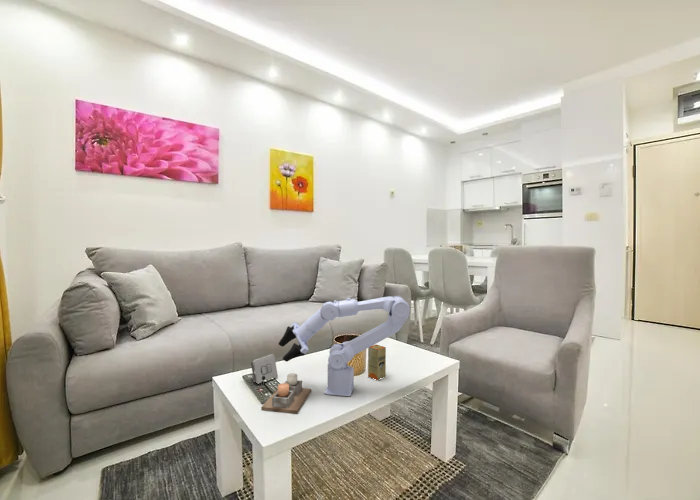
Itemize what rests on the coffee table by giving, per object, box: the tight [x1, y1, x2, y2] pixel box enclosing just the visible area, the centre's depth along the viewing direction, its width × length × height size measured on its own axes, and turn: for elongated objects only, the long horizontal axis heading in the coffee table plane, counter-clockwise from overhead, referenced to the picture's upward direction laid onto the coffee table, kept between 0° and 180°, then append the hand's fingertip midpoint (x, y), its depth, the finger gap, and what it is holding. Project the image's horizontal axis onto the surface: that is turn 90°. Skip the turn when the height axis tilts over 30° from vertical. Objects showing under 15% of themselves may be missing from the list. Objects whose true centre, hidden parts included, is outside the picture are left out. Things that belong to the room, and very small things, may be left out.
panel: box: [260, 379, 312, 415], centre depth 105 cm, size 12×15×4 cm
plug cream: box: [286, 372, 298, 386], centre depth 109 cm, size 4×4×3 cm
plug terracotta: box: [277, 382, 289, 397], centre depth 101 cm, size 4×4×3 cm
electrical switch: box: [250, 353, 279, 384], centre depth 121 cm, size 9×5×9 cm, turn 141°
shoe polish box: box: [367, 344, 387, 381], centre depth 124 cm, size 5×5×12 cm
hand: (282, 352), depth 112 cm, fingers open, 7 cm apart
